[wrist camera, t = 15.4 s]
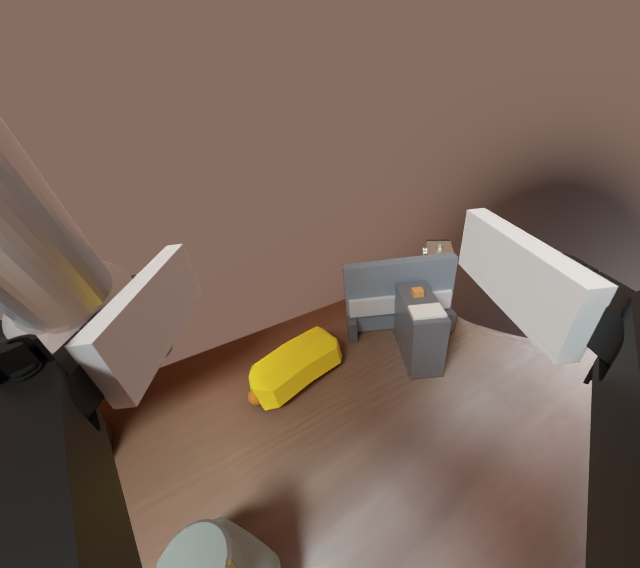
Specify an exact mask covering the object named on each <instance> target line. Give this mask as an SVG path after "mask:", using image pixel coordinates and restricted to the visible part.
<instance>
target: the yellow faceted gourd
mask: <svg viewBox="0 0 640 568" xmlns="http://www.w3.org/2000/svg"><path fill="white" fill-rule="evenodd" d="M341 359H342V353H341V350H340V343H339V341H338V340H337V338H335V337H333V336H332V335H331V334H329V333H328V332H327V331H326V330H324V329H322V328H320V327H318V326H316V327H314V328H312V329H310V330H309V331H307V332H305V333H303V334H301V335H299V336H297V337H295V338H293V339H292V340H290V341H288V342H286V343H284V344H283V345H281V346H280V347H278V348H277V349H275V350H274V351H273V352H271V353H270V354H268V355H267V356H265V357H264V358H262V359H261V360H259V361H258V362H257V363H255V364H254V365H252V367H251V370H250V373H249V383H250V389H251V390H250V392H249V393H248V400H249V402H250V403H251V404H253V405H254V406H257V405H261V406H262V407H263V408H264V410H265V411H266V410H270V409H275V408H279V407H281V406H282V405H283V404H284V403H286V402H287V401H288V400H289V399H291V398H292V397H293V396H294V395H296V394H297V393H298V392H299V391H301V390H302V389H303V388H304V387H306V386H307V385H308V384H309V383H311V382H312V381H313V380H315V379H317V378H318V377H320V376H321V375H323V374H324V373H326V372H327V371H329V370H330V369H332V368H333V367H335V366H337V365H338V364H340V363H341Z"/></svg>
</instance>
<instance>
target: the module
mask: <svg viewBox="0 0 640 568" xmlns="http://www.w3.org/2000/svg"><path fill="white" fill-rule="evenodd" d="M450 328H451V320H450V318H449V317H448V315H447V313H446V312H445V310H444V309H443V307H442V305H441V304H440V302H439V301H438V300H437V298H436V296H435V295H434V293H433V292H432V290H431V288H430V287H429V285H428V284H427V282H426V281H425V280H422V281H412V282H403V283H395V315H394V334H395V337H396V340H397V342H398V345H399V348H400V351H401V354H402V357H403V360H404V363H405V365H406V368H407V371H408V374H409V377H410V380H411V379H422V378H433V377H443V373H444V366H445V360H446V354H447V347H448V341H449V335H450Z"/></svg>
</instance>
